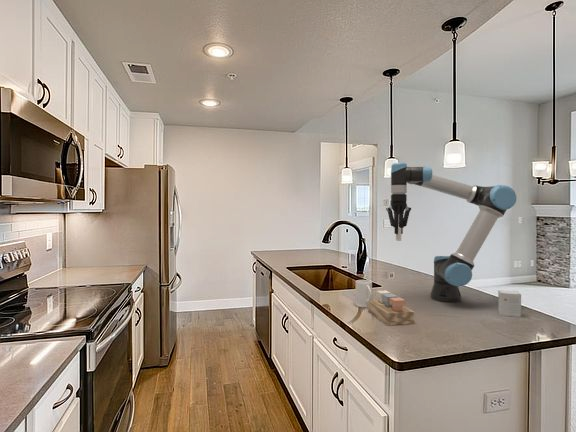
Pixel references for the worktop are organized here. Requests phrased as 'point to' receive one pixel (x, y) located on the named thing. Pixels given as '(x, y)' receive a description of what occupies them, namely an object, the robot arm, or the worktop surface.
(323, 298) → the worktop surface
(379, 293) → the ivory key
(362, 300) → the mug
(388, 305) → the slate key
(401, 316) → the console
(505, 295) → the small box
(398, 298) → the terracotta key
